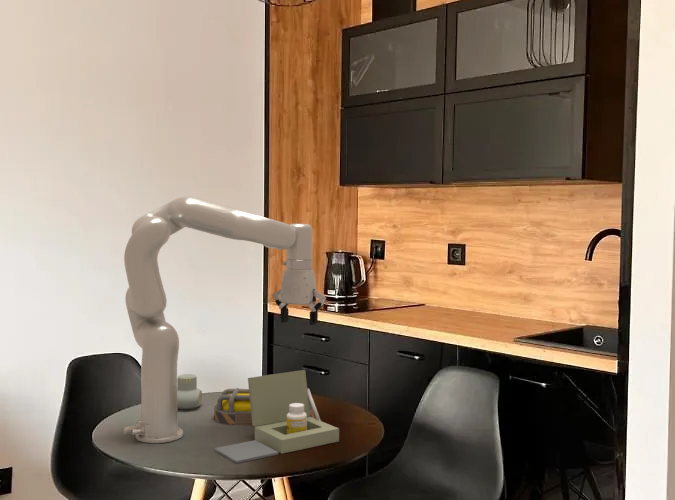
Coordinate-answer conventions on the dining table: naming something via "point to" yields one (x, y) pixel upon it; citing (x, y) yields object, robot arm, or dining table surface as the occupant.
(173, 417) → the robot arm
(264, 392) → the equipment case
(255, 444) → the slate pad
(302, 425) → the supplement bottle
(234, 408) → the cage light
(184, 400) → the air freshener
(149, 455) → the dining table surface
